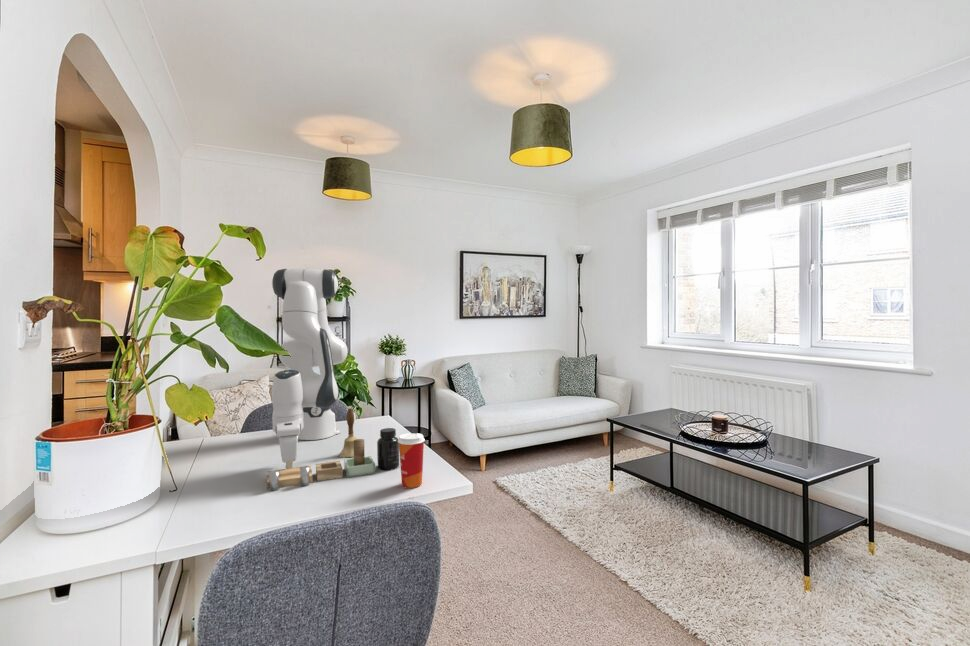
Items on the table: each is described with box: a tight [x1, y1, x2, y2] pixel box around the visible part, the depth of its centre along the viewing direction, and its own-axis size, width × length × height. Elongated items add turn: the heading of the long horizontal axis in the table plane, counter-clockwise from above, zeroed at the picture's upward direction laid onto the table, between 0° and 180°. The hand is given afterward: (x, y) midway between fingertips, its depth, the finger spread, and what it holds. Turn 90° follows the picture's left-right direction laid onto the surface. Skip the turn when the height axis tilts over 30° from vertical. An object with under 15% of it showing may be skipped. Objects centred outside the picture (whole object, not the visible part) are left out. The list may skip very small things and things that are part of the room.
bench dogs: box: [269, 465, 311, 492], centre depth 131 cm, size 2×10×5 cm, turn 113°
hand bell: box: [338, 407, 358, 459], centre depth 161 cm, size 8×8×16 cm
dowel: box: [353, 438, 366, 466], centre depth 144 cm, size 3×3×9 cm
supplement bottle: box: [376, 427, 400, 471], centre depth 147 cm, size 7×7×12 cm
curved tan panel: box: [266, 465, 314, 490], centre depth 137 cm, size 10×12×2 cm
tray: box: [343, 455, 376, 478], centre depth 144 cm, size 8×8×3 cm
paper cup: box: [398, 432, 426, 489], centre depth 132 cm, size 8×8×14 cm
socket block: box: [315, 460, 343, 482], centre depth 140 cm, size 7×7×3 cm
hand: (289, 468), depth 143 cm, fingers closed
